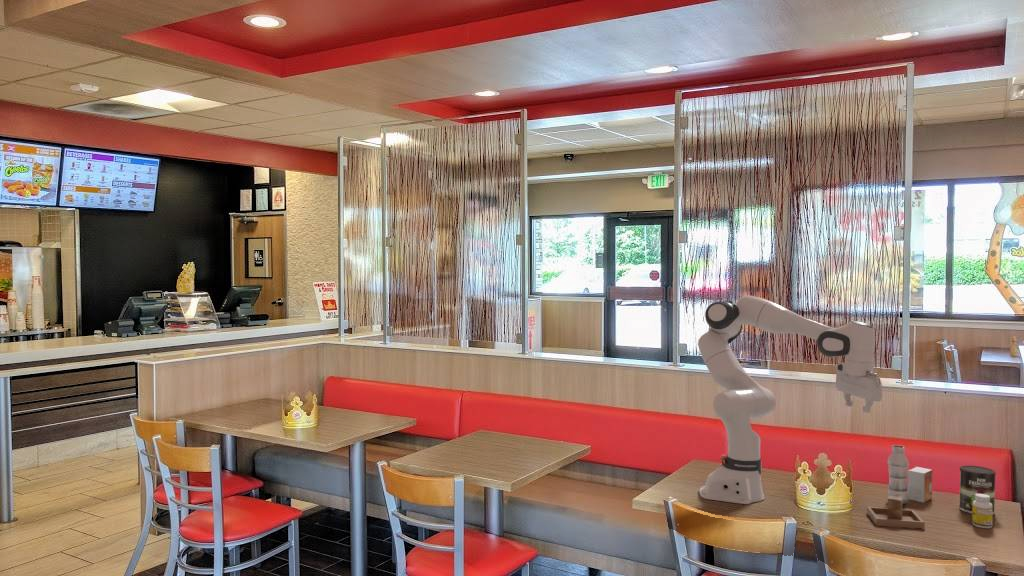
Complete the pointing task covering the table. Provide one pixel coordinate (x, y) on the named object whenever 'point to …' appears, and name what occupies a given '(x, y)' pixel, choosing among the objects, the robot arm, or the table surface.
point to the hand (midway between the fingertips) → (857, 409)
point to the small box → (920, 484)
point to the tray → (908, 519)
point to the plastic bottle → (898, 473)
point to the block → (894, 507)
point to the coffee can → (975, 486)
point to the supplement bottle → (982, 511)
